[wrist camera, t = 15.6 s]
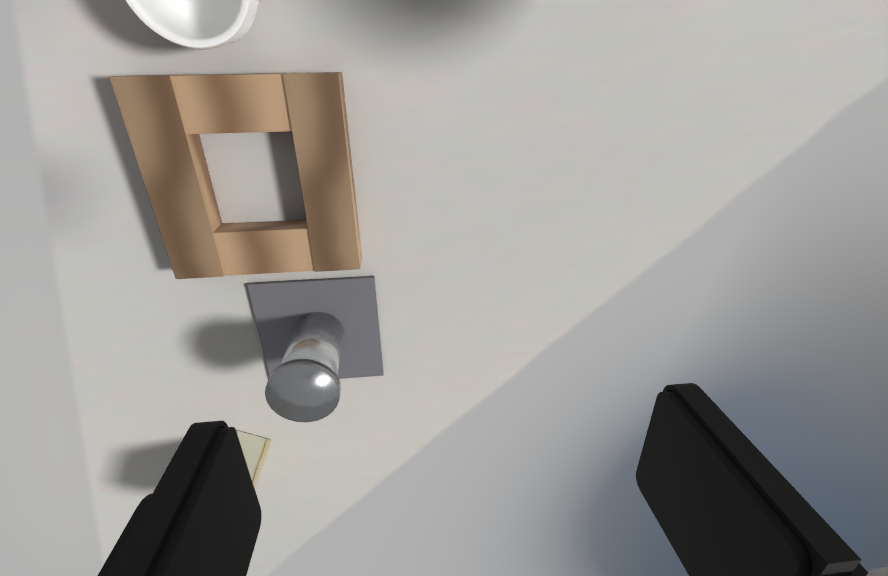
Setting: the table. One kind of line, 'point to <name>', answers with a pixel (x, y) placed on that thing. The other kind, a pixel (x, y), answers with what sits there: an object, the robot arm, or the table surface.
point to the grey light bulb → (308, 370)
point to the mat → (335, 296)
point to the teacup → (197, 20)
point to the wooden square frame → (189, 185)
